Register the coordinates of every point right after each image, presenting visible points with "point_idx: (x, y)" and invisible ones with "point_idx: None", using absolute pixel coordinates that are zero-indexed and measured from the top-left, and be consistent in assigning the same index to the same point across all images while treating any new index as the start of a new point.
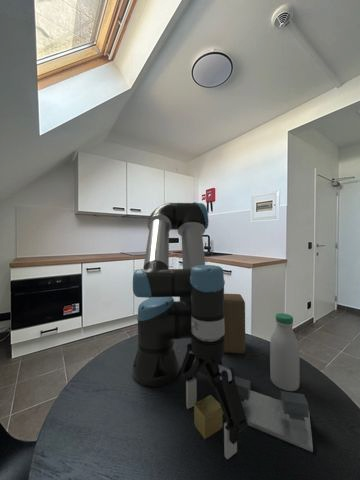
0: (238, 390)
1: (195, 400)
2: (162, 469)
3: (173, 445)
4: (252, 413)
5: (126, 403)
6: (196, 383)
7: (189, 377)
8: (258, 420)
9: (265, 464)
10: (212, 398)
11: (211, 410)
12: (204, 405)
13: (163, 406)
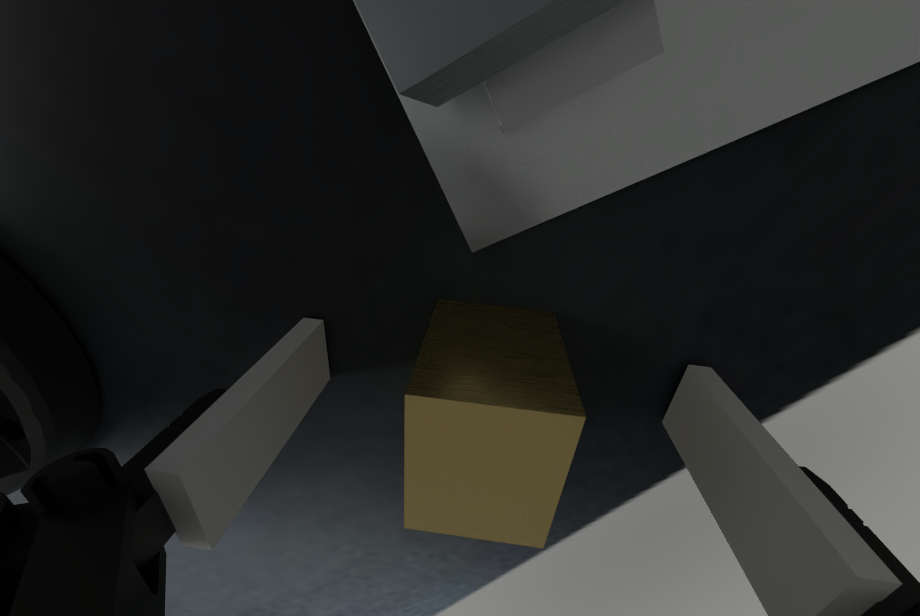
0: (586, 2)
1: (309, 347)
2: (502, 560)
3: None
4: (727, 13)
5: None
6: (217, 436)
7: (158, 604)
8: (817, 42)
9: (891, 297)
10: (453, 417)
11: (542, 497)
12: (466, 496)
13: None
